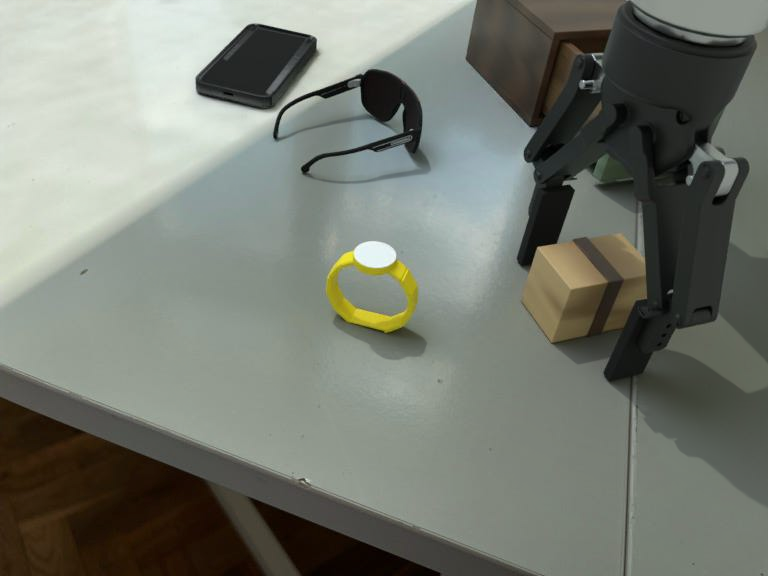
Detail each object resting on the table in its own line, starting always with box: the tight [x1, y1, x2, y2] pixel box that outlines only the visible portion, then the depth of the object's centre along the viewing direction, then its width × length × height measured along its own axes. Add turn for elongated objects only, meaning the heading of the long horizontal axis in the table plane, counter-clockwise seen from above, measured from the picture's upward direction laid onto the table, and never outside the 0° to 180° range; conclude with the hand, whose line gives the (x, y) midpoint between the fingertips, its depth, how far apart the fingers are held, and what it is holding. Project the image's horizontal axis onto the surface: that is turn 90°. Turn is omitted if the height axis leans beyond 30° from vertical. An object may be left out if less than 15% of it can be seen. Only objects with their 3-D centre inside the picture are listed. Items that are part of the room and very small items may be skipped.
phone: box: [194, 23, 318, 109], centre depth 78 cm, size 8×1×15 cm
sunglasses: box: [272, 68, 424, 174], centre depth 69 cm, size 11×12×5 cm
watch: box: [325, 240, 419, 334], centre depth 51 cm, size 6×3×6 cm, turn 72°
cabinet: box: [465, 0, 628, 127], centre depth 80 cm, size 15×12×10 cm
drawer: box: [541, 37, 726, 183], centre depth 71 cm, size 18×11×8 cm, turn 21°
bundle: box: [520, 232, 647, 344], centre depth 55 cm, size 7×5×5 cm
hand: (575, 312), depth 56 cm, fingers open, 11 cm apart
